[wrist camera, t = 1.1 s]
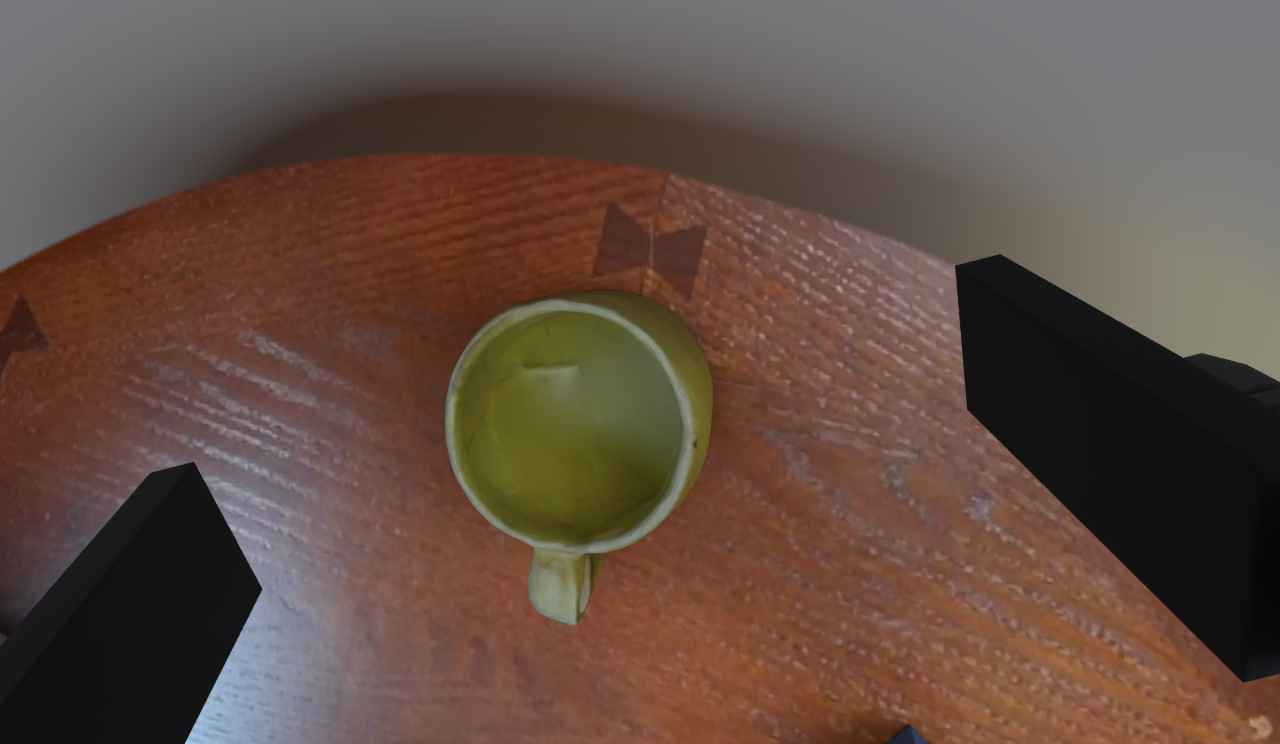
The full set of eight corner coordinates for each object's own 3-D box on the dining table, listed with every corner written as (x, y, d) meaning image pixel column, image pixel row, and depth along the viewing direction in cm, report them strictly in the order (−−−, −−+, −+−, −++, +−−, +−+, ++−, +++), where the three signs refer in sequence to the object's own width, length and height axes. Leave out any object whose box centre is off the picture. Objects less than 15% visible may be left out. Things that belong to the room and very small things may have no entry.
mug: (506, 222, 35) (465, 283, 26) (738, 291, 36) (779, 373, 27) (442, 475, 39) (386, 607, 30) (652, 529, 40) (663, 672, 31)
